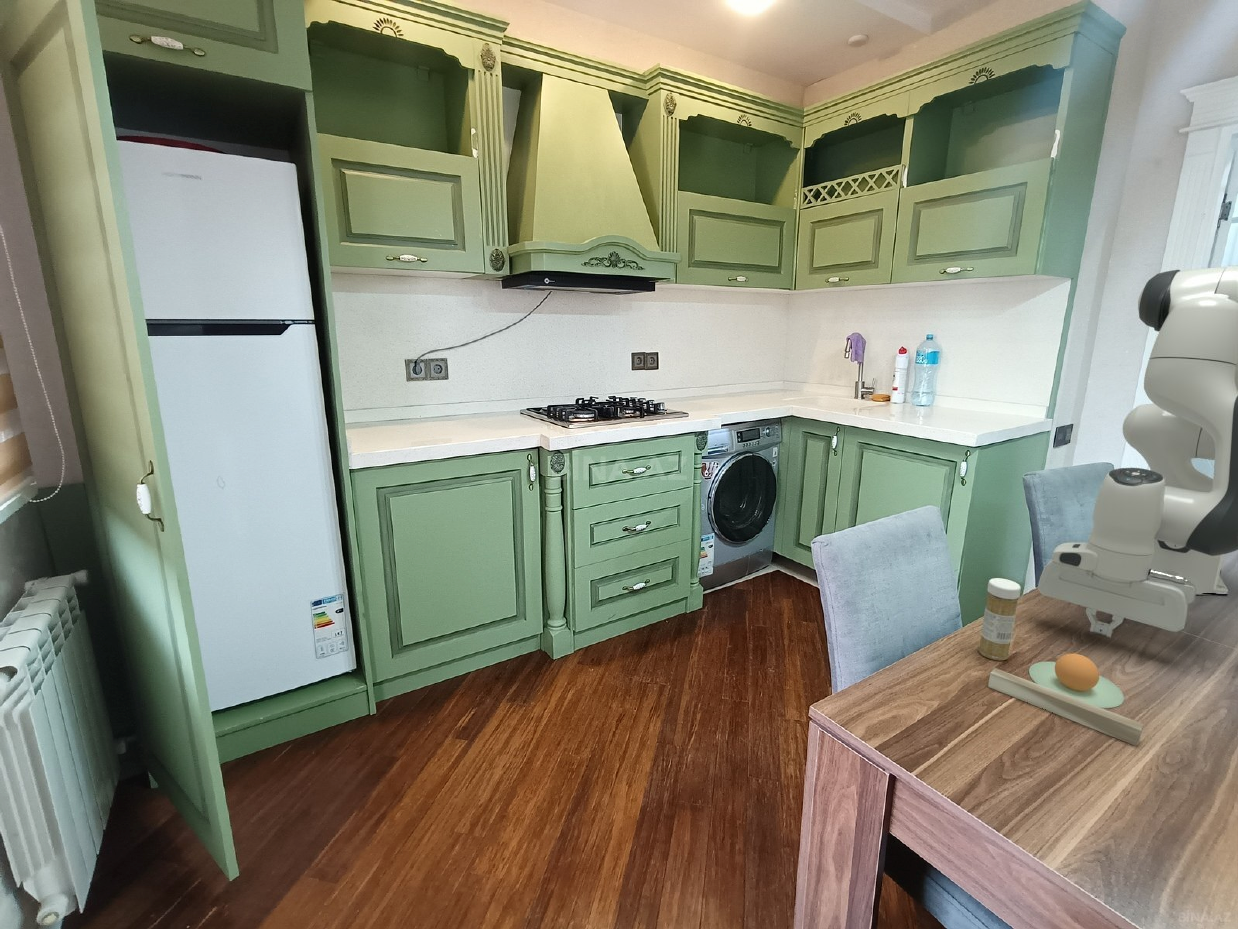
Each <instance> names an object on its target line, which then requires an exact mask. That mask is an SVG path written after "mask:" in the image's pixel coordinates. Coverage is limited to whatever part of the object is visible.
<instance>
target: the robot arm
mask: <svg viewBox="0 0 1238 929" xmlns="http://www.w3.org/2000/svg"><path fill="white" fill-rule="evenodd" d="M1137 310H1138V318H1139V319H1140V320H1141V322H1142V323H1143V324H1144V325H1146V327H1151V328H1153V330H1154V331H1156V332H1158V334H1157V336H1156V339H1155V341H1154V344H1153V347H1152V349H1151V352H1150V355H1149V358H1148V361H1147V365H1146V369H1145V372H1144V373H1145V374H1144V378H1143V390H1144V392H1145V394H1146V396H1147V398H1148V399H1149V400H1150V401H1151V402H1152V403H1145V404H1139V405H1138V406H1136V407H1134V408H1133V409H1132V410H1131V411H1130V412H1129V413H1128V414H1127V415H1126V417H1125V419H1124V420H1123V423H1122V435H1123V438H1124V439H1125V441H1126V443H1127V444H1129V446H1130V447H1131V448H1133V449H1135V451H1137V452H1138V454H1140V455H1141V456H1142V458H1143V459H1144V461H1146V464H1147V465H1148V467H1149V469H1147V468H1139V467H1120V468H1116V469H1113V470H1112V469H1111V470H1110V471H1108V472H1107V474H1106V475H1105V477H1104V479H1103V481H1102V483H1101V486H1100V488H1099V490H1098V494H1097V497H1096V499H1095V500H1096V501H1095V503H1094V509H1093V513H1092V521H1093V522H1092V523H1093V526H1092V530H1091V531H1090V534H1089V536H1088V538H1087V541H1085V542H1084V541H1083V542H1063V543H1061V544H1058V546H1056V547H1055V548H1054V550H1053V552H1052V555H1051V559H1050V560H1049V561H1048V563H1047V564H1046V565H1045V566H1044V568H1043V570H1042V572H1041V574H1040V577H1039V580H1038V585H1037V589H1038V591H1039V593H1040V594H1041V595H1043V596H1046V597H1050V598H1052V599H1057V600H1060V601H1063V602H1068V603H1071V604H1074V605H1077V606H1082V607H1085V608H1086V609H1085V614H1086V616H1087V618H1088V620H1089V622H1090V623H1091V624H1090V629H1089V632H1092V633H1095V634H1099V635H1102V636H1105V637H1107V638H1108V637H1109V638H1111V637H1112V634H1113V630H1114V629H1115V628H1117V627H1119V625H1121V624H1122V623H1123V621H1124V619H1127V620H1130V621H1135V622H1136V623H1137V622H1138V623H1141V624H1145V625H1148V626H1151V627H1155V628H1158V629H1163V630H1166V631H1168V632H1169V631H1170V632H1173V633H1177V632H1181V630H1183V629H1184V628H1185V626H1186V622H1187V616H1188V606H1189V605H1190V604H1192V603H1193V602H1194V601H1195V598H1196V596H1197V595H1202V594H1201V593H1206V592H1208V593H1209V592H1222V593H1224V592H1228V593H1229V589H1228V587H1227V586H1226V584H1225V582H1224V581H1223V579H1222V577H1221V576H1220V575H1221V573H1222V569H1221V567H1222V563H1223V560H1224V555H1226V554H1230V553H1233V552H1236V551H1238V265H1227V266H1218V267H1217V266H1216V267H1205V268H1204V267H1203V268H1194V269H1186V270H1181V269H1173V270H1168V271H1167V270H1166V271H1163V272H1159V273H1156V274H1155V275H1154V276H1152V277H1151V278H1150V279H1148V281H1147V282H1146V284H1145V285H1144V288H1143V289H1142V290H1141V292H1140V294H1139V297H1138V301H1137ZM1193 459H1200V460H1201V459H1202V460H1211V461H1214V463H1213V478H1211V477H1210V476H1208V475H1207V474H1204V473H1202V472H1201V471H1199V470H1198V469H1197V468H1195V467H1194V465H1193V462H1192V460H1193ZM1164 570H1173V571H1175V572H1177V573H1178V574H1179V575H1180V576H1177V575H1176V576H1175V575H1171V574H1167V573H1164V572H1161V571H1164ZM1097 612H1102V613H1105V614H1109V615H1112V618H1111V620H1112V621H1111V622H1110V623H1107V622H1103V621H1100V620H1098V617H1097Z"/></svg>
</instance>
